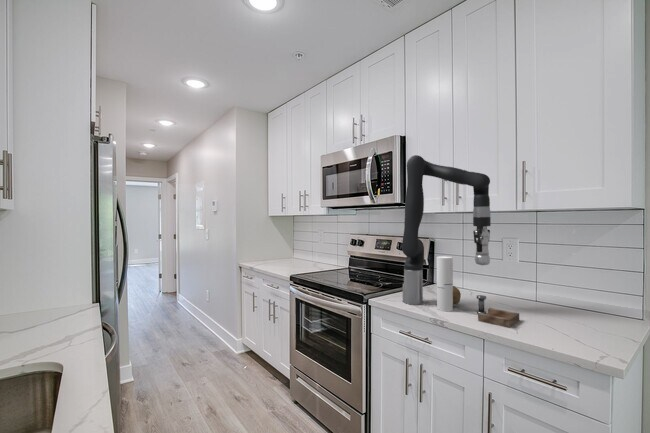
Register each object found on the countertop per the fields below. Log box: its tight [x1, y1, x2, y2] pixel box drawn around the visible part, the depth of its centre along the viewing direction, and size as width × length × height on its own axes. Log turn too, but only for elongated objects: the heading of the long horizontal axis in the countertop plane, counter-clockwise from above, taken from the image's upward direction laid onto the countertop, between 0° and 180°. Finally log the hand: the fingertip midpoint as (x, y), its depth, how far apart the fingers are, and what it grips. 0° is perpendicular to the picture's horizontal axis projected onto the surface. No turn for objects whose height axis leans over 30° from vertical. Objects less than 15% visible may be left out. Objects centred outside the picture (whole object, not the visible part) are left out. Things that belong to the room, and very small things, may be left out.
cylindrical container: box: [436, 255, 454, 312], centre depth 156 cm, size 7×7×25 cm
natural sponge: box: [453, 285, 462, 307], centre depth 163 cm, size 9×9×10 cm
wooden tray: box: [477, 307, 520, 329], centre depth 139 cm, size 12×13×3 cm
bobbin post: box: [476, 294, 487, 315], centre depth 149 cm, size 4×4×8 cm
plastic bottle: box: [474, 226, 491, 266], centre depth 156 cm, size 6×7×20 cm
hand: (482, 251), depth 156 cm, fingers closed on plastic bottle, 5 cm apart
